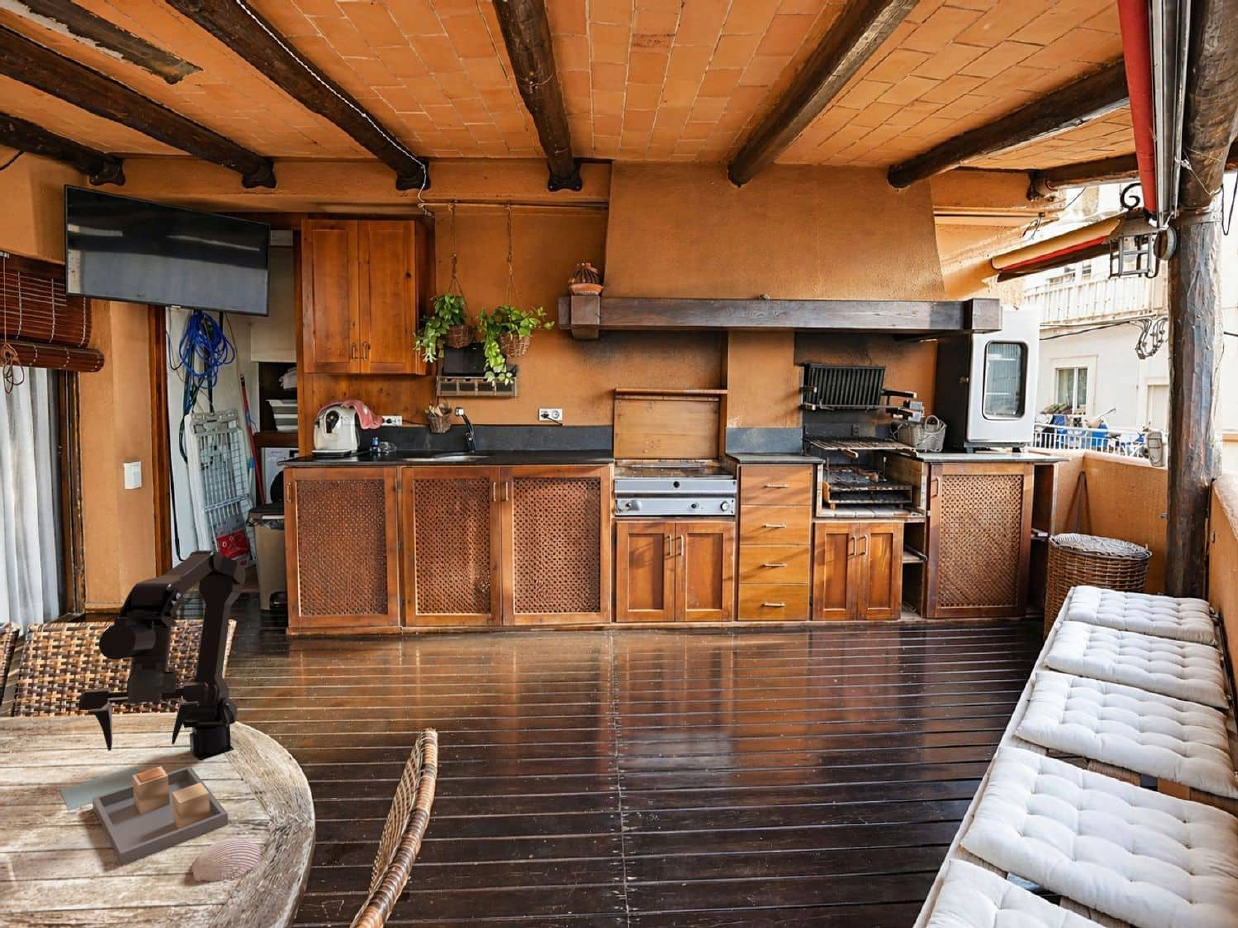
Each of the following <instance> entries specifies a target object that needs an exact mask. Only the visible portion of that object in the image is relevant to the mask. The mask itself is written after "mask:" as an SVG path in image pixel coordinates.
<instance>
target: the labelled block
mask: <svg viewBox="0 0 1238 928" xmlns="http://www.w3.org/2000/svg"><path fill="white" fill-rule="evenodd" d="M132 776H133V790H134V804H135V806H136V807H137V809H138V811H139V813H140V814H144V813H147V812H150V811H153V810H155V809H158V808H161V807H164V806H167V805H170V800H169V784H168V775H167V771H165V770H164V769H163V767H162V765H160V766H158V767H154V768H151V769H147V770H145V771H142V772H139V773H138V774H135V775H132Z"/></svg>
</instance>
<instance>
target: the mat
mask: <svg viewBox="0 0 1238 928" xmlns="http://www.w3.org/2000/svg"><path fill="white" fill-rule="evenodd" d="M138 773H140V771H139V769H138V768H137V767H136V766H133V767H130V768H126V769H123V770H120V771H117V772H113V773H110V774H107V775H104V776H100V777H97V778H95V779H91V780H87V781H84V782H82V783H77V784H75V785H71V786H68V787H65V788H62V789H60V790H59V792H60V794H61V796H62V798H63V800H64V803H65V805H66V807H67V810H68V811H73V810H76V809H78V808H81V807H85V806H87V805H90V804H93V799H92V798H93V797H96V796H99V795H102V794H105V793H108V792H111V791H115V790H118V789H121V788H124V787H127V786H130V785H133V776H132V775H135V774H138Z"/></svg>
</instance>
